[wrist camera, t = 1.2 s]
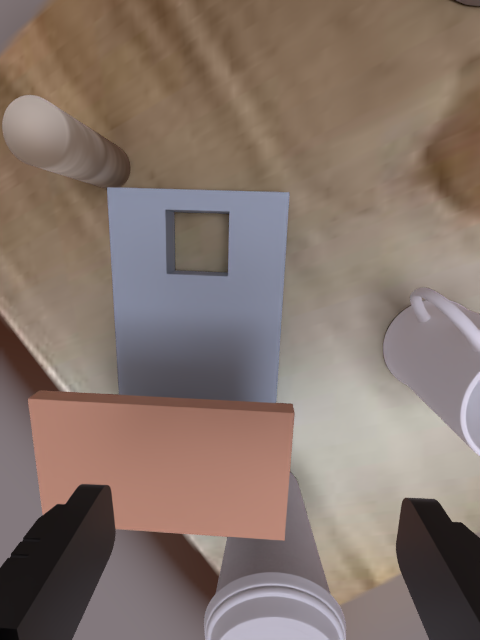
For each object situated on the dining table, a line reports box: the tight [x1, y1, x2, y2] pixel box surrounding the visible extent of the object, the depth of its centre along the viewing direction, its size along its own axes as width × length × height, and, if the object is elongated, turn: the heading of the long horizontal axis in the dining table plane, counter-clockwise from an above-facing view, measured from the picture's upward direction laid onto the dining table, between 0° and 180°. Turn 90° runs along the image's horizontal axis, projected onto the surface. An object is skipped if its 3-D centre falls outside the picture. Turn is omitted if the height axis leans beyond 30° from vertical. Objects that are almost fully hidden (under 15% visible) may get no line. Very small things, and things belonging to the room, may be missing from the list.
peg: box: [2, 95, 130, 189], centre depth 24 cm, size 4×4×10 cm
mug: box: [383, 287, 480, 456], centre depth 25 cm, size 12×8×12 cm
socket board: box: [28, 187, 294, 541], centre depth 24 cm, size 20×14×14 cm
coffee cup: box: [204, 472, 346, 640], centre depth 28 cm, size 10×10×15 cm
